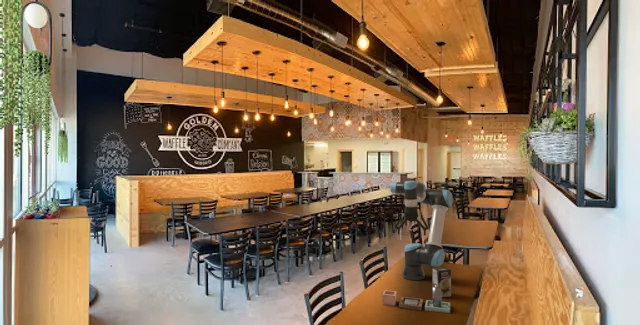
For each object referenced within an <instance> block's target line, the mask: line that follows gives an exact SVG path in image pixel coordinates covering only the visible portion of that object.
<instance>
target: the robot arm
mask: <svg viewBox="0 0 640 325" xmlns="http://www.w3.org/2000/svg"><path fill="white" fill-rule="evenodd" d="M389 189H390V192H391V193H392V194H399V195H401V196H404V213H402V212H400V213H399V218H398V220H397V222H396V224H395V225H394V228H395V230H397V234H398V235H399V241H402V240H403V239H402V227H403V226H404V224H406V222H407V221H408V222H416V223H417V224H418V225H419V227H420V228H421V229H422V230H421V231H422V242H424V241H425V236H426V234H427V233H426V232H427V230H429V233H428V237H427V239H428V240H427V242H425V244H424V246H422V243H419V242H416V243H415V242H414V243H407V244H406V245H405V246H404V266H403V270H402V278H403V279H406V280H409V281H422V280H424V279H425V278H426V277H425V272H424V268H423V265H425V266H431V267H436V268H439V267H440V266H442V265H443V263H444V261H445V258H446V255H445V254H446V253H445V250H444V249H443V248H444V247H443V246H442V238H443V231H444V225H445V218H446V212H447V211H448V210H449V207H452V206H453V201H454V200H453V194H452V192H451V191H450V190H448V189H436V188H434V189H433V188H427V186H426V184H425V183H424V182H418V181H416V180H405V181H402V182H400V181H394V182H391V183H390V187H389ZM418 203H421V204H424V205H427V206H431V209H432V215H431V220H430V225H428V224H427V221H426V220H425V218H424V214H423V213H420V214H419V212H418ZM403 218H405V219H404V220H403V221H402V222H401V220H402V219H403ZM418 218H420V219H421V221H422V222H421V221H420V220H419V219H418ZM400 222H401V223H400ZM399 224H400V225H399ZM423 224H424V225H423Z"/></svg>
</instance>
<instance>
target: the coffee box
mask: <svg viewBox="0 0 640 325" xmlns="http://www.w3.org/2000/svg"><path fill="white" fill-rule="evenodd" d="M451 273H452V270H451V269H450V268H447V267H445V266H444V267H443V266H442V267H434V268H432V287H433V286H435V285H438V286H440V287H441V298H448V297H451V296H452V274H451Z"/></svg>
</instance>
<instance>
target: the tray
mask: <svg viewBox="0 0 640 325" xmlns="http://www.w3.org/2000/svg"><path fill="white" fill-rule="evenodd" d="M424 311H429V312H435V313H437V312H438V313H444V314H451V302H446V301H442V308H438V307H433V300H431V299H429V300H428V299H425V305H424Z"/></svg>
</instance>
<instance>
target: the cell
mask: <svg viewBox="0 0 640 325" xmlns="http://www.w3.org/2000/svg"><path fill="white" fill-rule="evenodd" d="M431 288H432V290H431V292H432V301H433V307H438V308H442V302H443V300H442V297H441V287H440V286H438V285H435V286H433V285H432V287H431Z"/></svg>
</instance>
